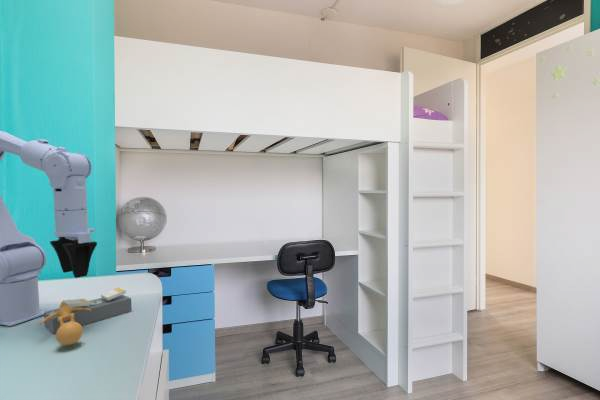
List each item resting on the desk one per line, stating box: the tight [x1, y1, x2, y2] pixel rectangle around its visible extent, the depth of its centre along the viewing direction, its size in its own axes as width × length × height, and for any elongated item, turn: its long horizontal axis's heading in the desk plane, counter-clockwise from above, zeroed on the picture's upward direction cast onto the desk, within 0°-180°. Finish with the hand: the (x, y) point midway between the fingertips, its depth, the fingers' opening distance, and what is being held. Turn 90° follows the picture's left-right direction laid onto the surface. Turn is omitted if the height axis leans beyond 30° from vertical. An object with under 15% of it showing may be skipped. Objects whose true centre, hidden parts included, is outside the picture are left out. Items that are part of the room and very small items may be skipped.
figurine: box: [38, 301, 91, 346], centre depth 64 cm, size 8×6×12 cm
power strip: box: [43, 294, 133, 335], centre depth 74 cm, size 15×6×3 cm, turn 140°
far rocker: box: [100, 287, 127, 300], centre depth 78 cm, size 4×4×1 cm
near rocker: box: [62, 298, 90, 308], centre depth 72 cm, size 4×4×1 cm
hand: (74, 274), depth 72 cm, fingers open, 7 cm apart
